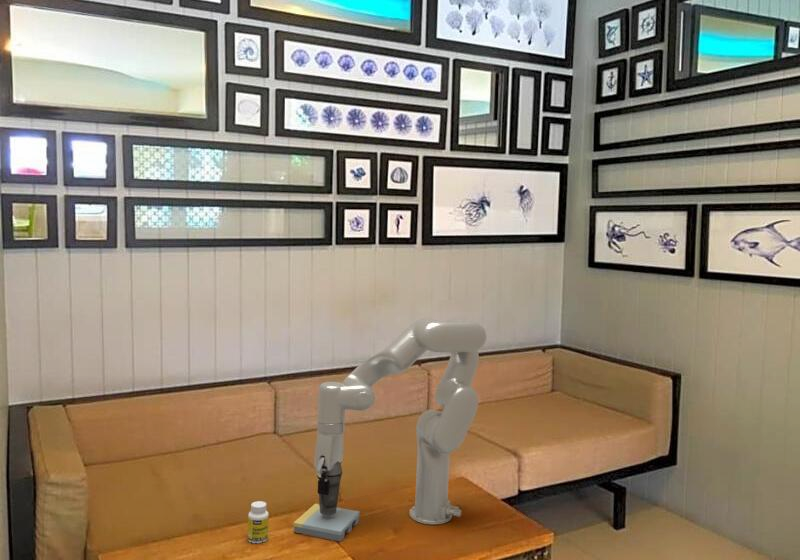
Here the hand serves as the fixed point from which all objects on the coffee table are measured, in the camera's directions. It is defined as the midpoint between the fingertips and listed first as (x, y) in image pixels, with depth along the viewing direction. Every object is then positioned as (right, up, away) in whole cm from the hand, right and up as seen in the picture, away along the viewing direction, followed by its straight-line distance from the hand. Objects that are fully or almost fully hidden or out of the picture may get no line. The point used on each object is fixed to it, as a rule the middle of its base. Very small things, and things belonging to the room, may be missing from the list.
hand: (328, 488), depth 187 cm
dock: (-1, -11, +1) cm, 11 cm away
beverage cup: (0, -7, +1) cm, 7 cm away
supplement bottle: (-18, -11, -8) cm, 23 cm away
